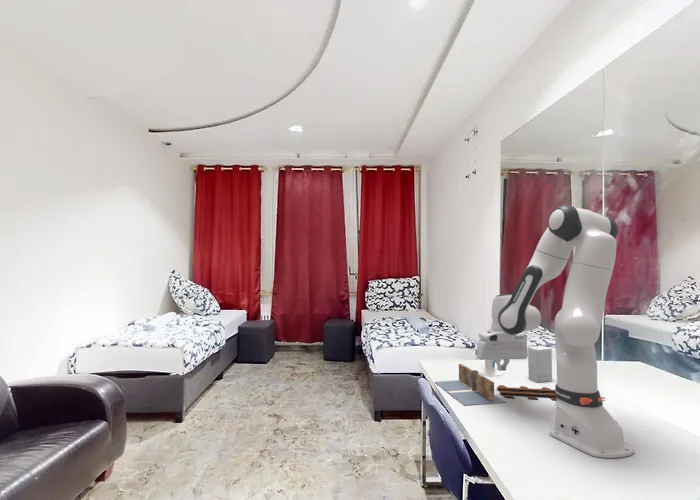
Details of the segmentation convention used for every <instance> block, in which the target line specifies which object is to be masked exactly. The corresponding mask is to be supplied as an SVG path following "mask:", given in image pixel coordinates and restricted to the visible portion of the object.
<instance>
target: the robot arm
mask: <svg viewBox="0 0 700 500" xmlns="http://www.w3.org/2000/svg"><path fill="white" fill-rule="evenodd" d="M547 219H548V220H547V228H546V230H545V231H544V232H543V233H542V236H541V237H540V240H539V241H538V244H537V245H536V248H535V250H534V253H533V255H532V257H531V259H530V261H529V263H528V266H527V267H526V269H524V270H525V271H524V272H523V274H522V275H521V277H520V279H519V280H518V283H517V285H516V286H515V288H514V291H513V293H512V294H511V293H508V294H498V295H495V296H494V298H493V300H492V305H491V318H492V319H491V320H492V322H491V325H490V327H491V328H490V329H486V330H483V331H481V332H479V334H478V337H479V339H478V341H477V345H476V356H477V358H479V360H483V361H485V360H493V359H495V364H496V370H498V371H501V372H502V371H507V367H508V365H509V363H510V360H526V359H528V339H527V337H526V336H525V335H523V334H521V333H525V332H529V331H533V330H535V329H538V328H539V327H540V325H541V324H542V321H543V319H542V313H541V312H540V310H539V309H538V308H537V307H536V306H534V305H531V304H530V303H531V302H532V300H533V298H534V296H535V294H536V292H537V291H538V289H539V288H540V287H541V286H543V285H544V284H545V283H547V282H549V281H551V280H553V279H555V278H557V277H559V276H560V275H561V273H562V272H563V271H564V269H565V268H566V267H567V263H568V261H569V259H570V256H571V254H572V251H573V249H574V248H575V252H574V256H573V257H572V262H571V266H570V269H569V273H568V277H567V280H566V283H565V290H564V295H563V300H562V301H563V302H562V304H561V305H562V307H561V309H560V310H559V311H558V312H557V313H556V315H555V318H554V338H555V340H554V341H555V357H556V384H555V387H554V390H555V396H556V397H557V400H556V401H555V404H554V407H553V415H552V426H551V429H550V430H549V435H550V437H554V439H557V440H559V441H561V442H563V443H565V444H567V445H569V446H571V447H574V448H575V449H578V450H579V451H581V452H584V453H585V454H588V455H590V456H592V457H596V458H603V459H617V458H624V457H629V456H632V455H634V454H635V448H634V447H633V446H631V445H630V444H628V443H627V442H626V441H625V440H624V439H625V437H624V432H623V429H622V427H621V426H620V424H619V423H618V421H617V420H615V418H614V417H613V416H612V415H611V414H610V412H608V410H607V409H606V408H605V407H604V406H603V405H604V403H603V402H606V400H605V399H606V397H605V396H604V397H602V396H601V393H600V390H599V389H598V363H597V356H596V348H595V347H596V346H595V344H596V343H597V342H598V339H599V338H600V336H601V335H600V334H601V328H602V324H603V318H604V313H605V312H604V311H605V306H606V305H605V304H606V298H607V294H608V290H609V285H610V281H611V279H612V275H613V271H614V267H615V263H616V256H617V240H616V238H617V236H618V233H619V232H618V231H619V227H618V224H617V222H616V221H615V220H614V219H613V218H611V217H609V216H607V215H604V214H603V215H602V214H601V213H597V212H594V211H592V210H591V209H590V210H589V209H585V208H581V207H574V206H572V205H561V206H560V205H559V206H557V207H555V208H554V209H553V210H552V211H551V212H550V214H549V216H548V218H547ZM519 334H520V335H519ZM502 360H503V363H502V364H501V362H502Z"/></svg>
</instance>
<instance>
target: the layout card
mask: <svg viewBox="0 0 700 500" xmlns="http://www.w3.org/2000/svg"><path fill="white" fill-rule="evenodd" d="M434 384H435V385H437V386H438V387H439V388H441V389H442V390H443V391H445V392H446V393H447V394H448V395H449V396H451V397H452V398H454V399H455V400H456V401H458V402H459V403H460V404H461V405H463V406H464V407H465V406H467V407H468V406H479V405H481V406H482V405H492V404H506V403H507V402H506V401H505V400H504V399H502V398H500V397H499V396H497V395H495V394H494V401H490V400H489V399H487V398H486V397H484V396H483V395H481V394H480V393H478V392H477V391H473V390H472V388H471V387H469V386H468V385H466V384H465V383H463V382H462V381H460V380H459V379H457V380H441V381H434Z"/></svg>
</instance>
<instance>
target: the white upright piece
mask: <svg viewBox="0 0 700 500" xmlns="http://www.w3.org/2000/svg"><path fill="white" fill-rule="evenodd" d="M495 364H496V362H495V359H493V360H484V368H480V369H478V370H477V371H478V374H480V375H482V376H487V377H500V376H501V377H502V376H503V372H502V371H499V370H497V369H495V366H496V365H495Z"/></svg>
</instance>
